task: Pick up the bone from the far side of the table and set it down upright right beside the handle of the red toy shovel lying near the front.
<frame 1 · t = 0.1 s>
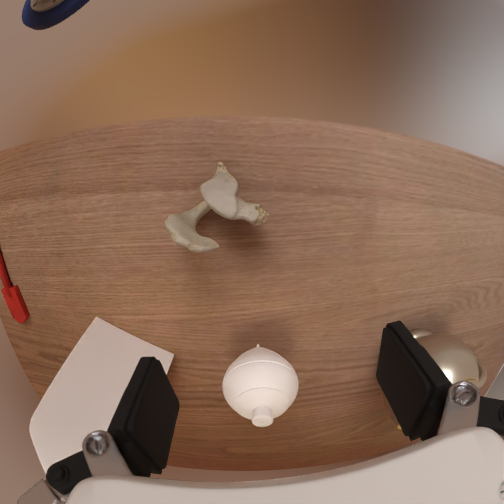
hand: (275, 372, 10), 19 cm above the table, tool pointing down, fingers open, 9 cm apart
red toy shovel: (2, 262, 29), on the table
teapot: (415, 348, 34), on the table
bone: (222, 195, 27), on the table
spinning top: (258, 343, 33), on the table
milk: (126, 363, 34), on the table
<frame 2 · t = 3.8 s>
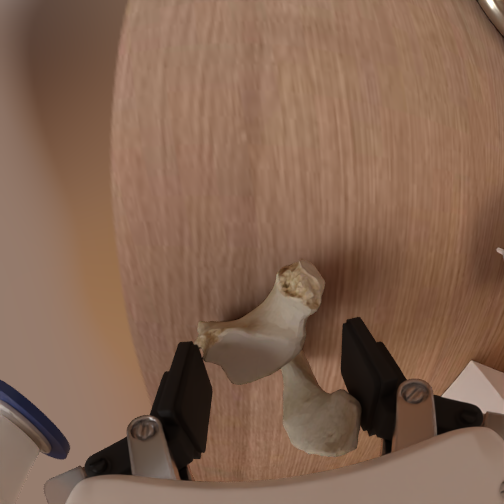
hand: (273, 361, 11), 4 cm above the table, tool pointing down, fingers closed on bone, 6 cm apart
bone: (262, 311, 15), on the table, touching gripper
spinning top: (495, 248, 14), on the table
milk: (457, 405, 20), on the table
when the fingers open (4 cm above the table, at t = 11.7 s): bone stays where it is, on the table.
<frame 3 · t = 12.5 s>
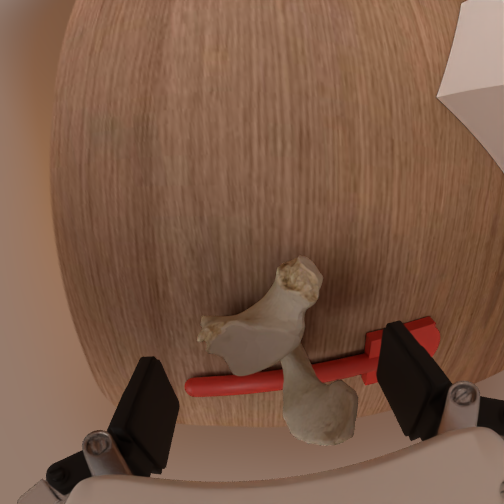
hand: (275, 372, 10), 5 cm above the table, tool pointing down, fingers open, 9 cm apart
red toy shovel: (308, 368, 17), on the table
bone: (263, 306, 16), on the table
milk: (501, 97, 11), on the table
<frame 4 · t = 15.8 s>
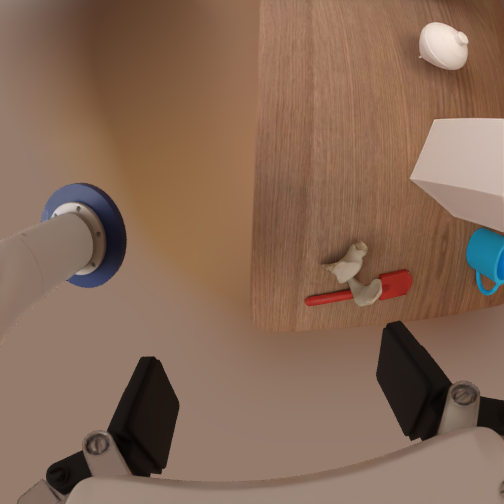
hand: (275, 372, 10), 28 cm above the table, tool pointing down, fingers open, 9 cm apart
red toy shovel: (356, 290, 41), on the table
mug: (477, 257, 40), on the table
bone: (341, 261, 39), on the table
spinning top: (418, 57, 29), on the table
milk: (445, 169, 35), on the table
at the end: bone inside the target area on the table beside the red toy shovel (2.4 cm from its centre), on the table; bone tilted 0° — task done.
